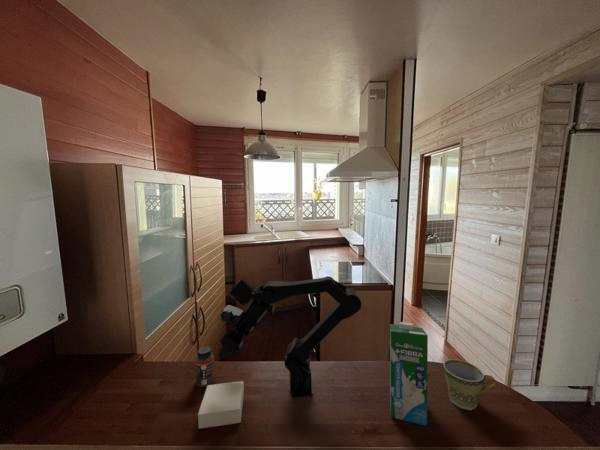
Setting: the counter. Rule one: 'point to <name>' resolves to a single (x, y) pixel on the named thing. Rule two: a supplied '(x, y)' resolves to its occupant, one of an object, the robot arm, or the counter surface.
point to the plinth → (221, 405)
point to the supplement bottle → (205, 367)
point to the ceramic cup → (464, 383)
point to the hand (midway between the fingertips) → (225, 348)
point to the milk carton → (408, 373)
